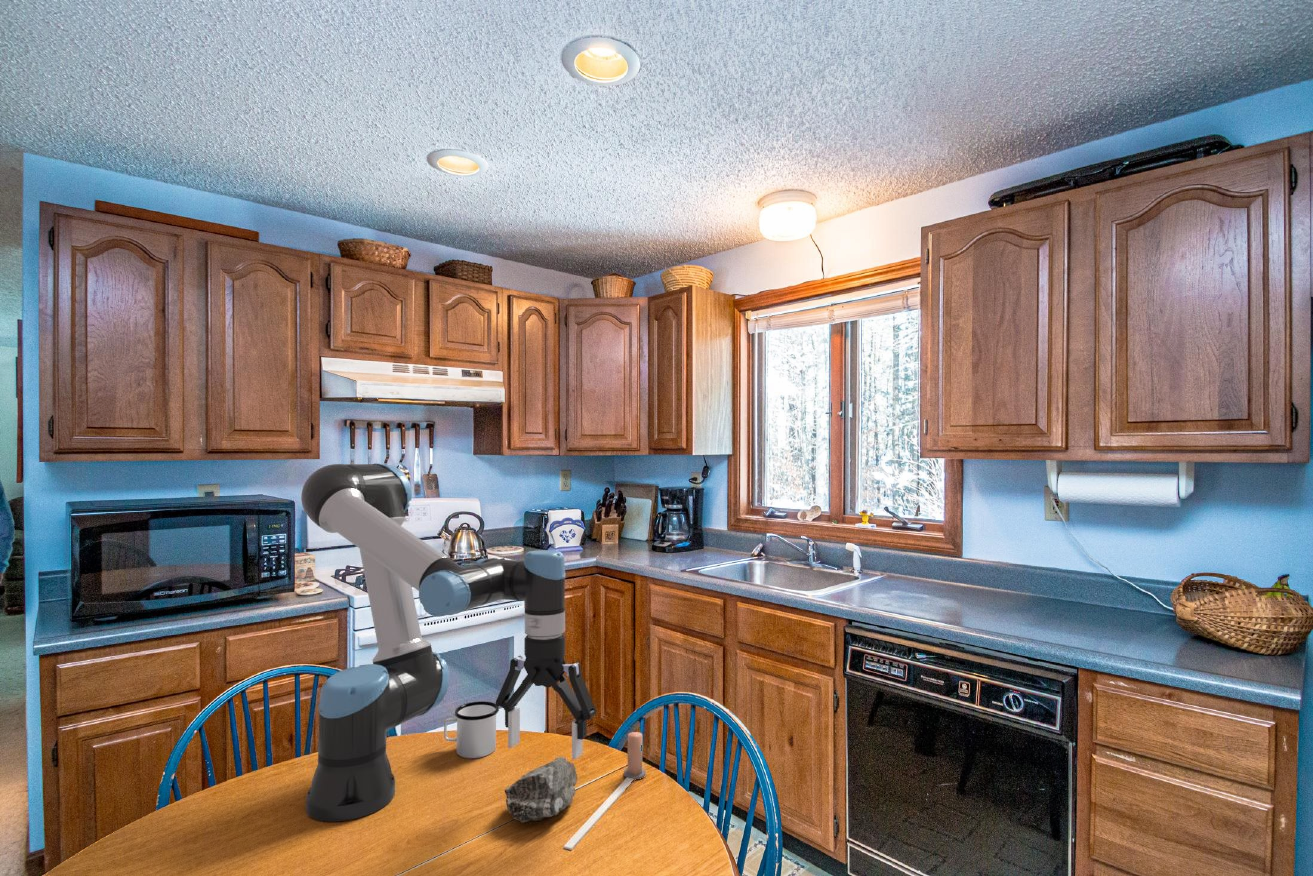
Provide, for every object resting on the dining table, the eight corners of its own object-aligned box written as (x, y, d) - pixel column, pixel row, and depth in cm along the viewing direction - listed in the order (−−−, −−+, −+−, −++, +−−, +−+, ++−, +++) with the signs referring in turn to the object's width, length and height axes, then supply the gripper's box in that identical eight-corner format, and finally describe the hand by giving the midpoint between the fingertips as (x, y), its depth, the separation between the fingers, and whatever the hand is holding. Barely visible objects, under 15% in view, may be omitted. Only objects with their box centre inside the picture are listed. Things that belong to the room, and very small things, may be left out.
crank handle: (556, 846, 107) (556, 796, 107) (629, 768, 135) (629, 729, 135) (579, 852, 105) (580, 802, 106) (648, 772, 133) (649, 732, 133)
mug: (503, 742, 147) (504, 701, 147) (490, 761, 137) (491, 718, 138) (452, 740, 148) (453, 700, 148) (435, 759, 138) (436, 716, 139)
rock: (566, 822, 110) (530, 774, 111) (524, 857, 110) (488, 809, 111) (588, 772, 128) (557, 731, 129) (552, 802, 128) (521, 761, 130)
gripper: (477, 633, 122) (476, 748, 121) (595, 645, 113) (595, 770, 112) (500, 624, 129) (500, 733, 128) (613, 635, 120) (614, 752, 119)
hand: (545, 750), depth 120 cm, fingers open, 13 cm apart
